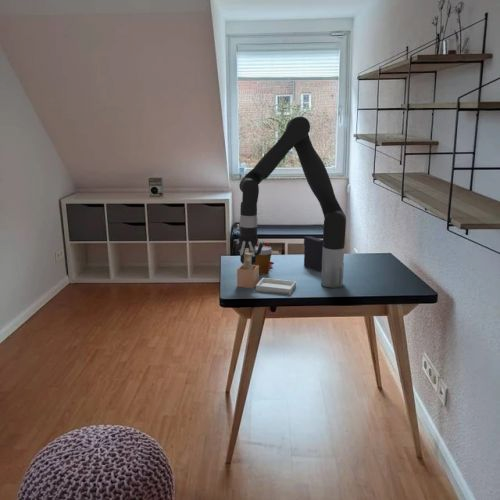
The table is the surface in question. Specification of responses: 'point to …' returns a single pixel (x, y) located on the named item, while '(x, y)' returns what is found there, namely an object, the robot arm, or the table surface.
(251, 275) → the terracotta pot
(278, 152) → the robot arm
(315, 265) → the calculator
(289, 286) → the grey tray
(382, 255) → the table surface
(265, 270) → the disposable coffee cup
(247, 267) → the maple peg
